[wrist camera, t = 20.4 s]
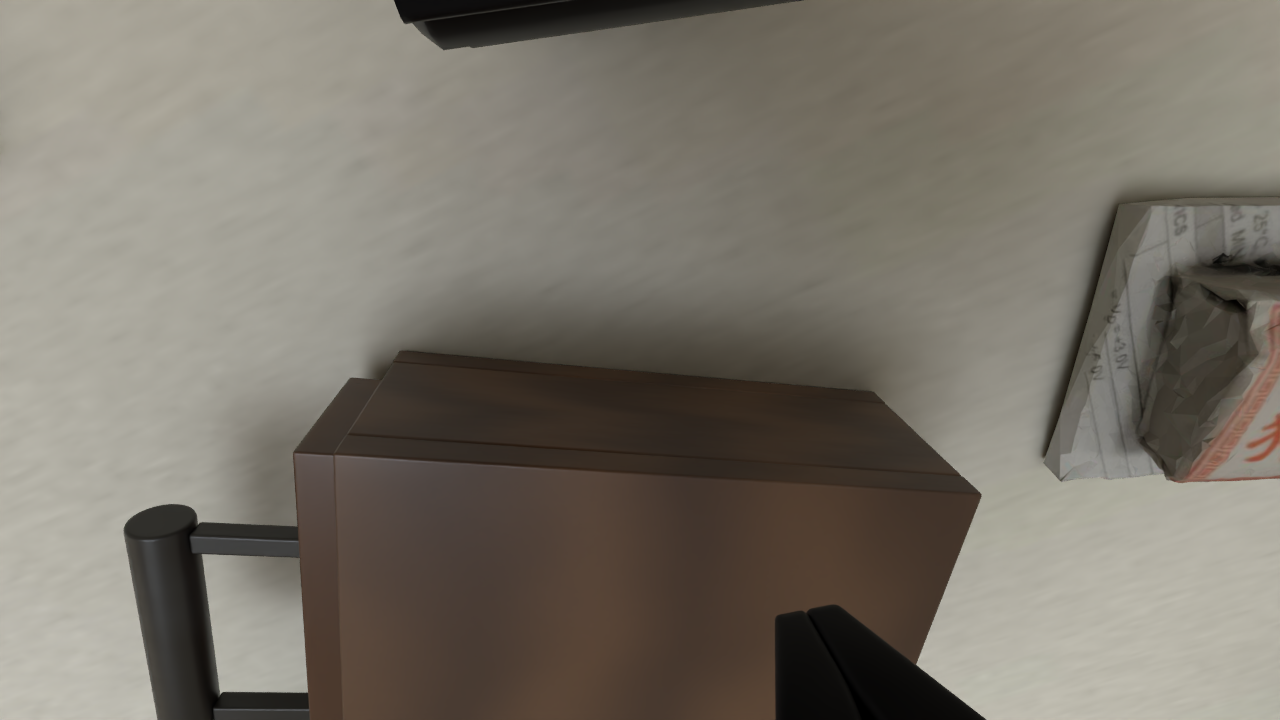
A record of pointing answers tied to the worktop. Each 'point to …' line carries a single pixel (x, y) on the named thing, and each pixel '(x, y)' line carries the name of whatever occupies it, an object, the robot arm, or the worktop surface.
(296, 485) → the drawer
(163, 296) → the worktop surface
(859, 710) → the robot arm
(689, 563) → the cabinet
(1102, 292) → the packaged product
